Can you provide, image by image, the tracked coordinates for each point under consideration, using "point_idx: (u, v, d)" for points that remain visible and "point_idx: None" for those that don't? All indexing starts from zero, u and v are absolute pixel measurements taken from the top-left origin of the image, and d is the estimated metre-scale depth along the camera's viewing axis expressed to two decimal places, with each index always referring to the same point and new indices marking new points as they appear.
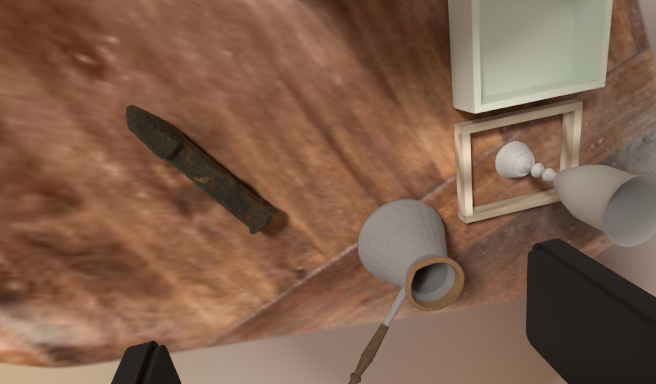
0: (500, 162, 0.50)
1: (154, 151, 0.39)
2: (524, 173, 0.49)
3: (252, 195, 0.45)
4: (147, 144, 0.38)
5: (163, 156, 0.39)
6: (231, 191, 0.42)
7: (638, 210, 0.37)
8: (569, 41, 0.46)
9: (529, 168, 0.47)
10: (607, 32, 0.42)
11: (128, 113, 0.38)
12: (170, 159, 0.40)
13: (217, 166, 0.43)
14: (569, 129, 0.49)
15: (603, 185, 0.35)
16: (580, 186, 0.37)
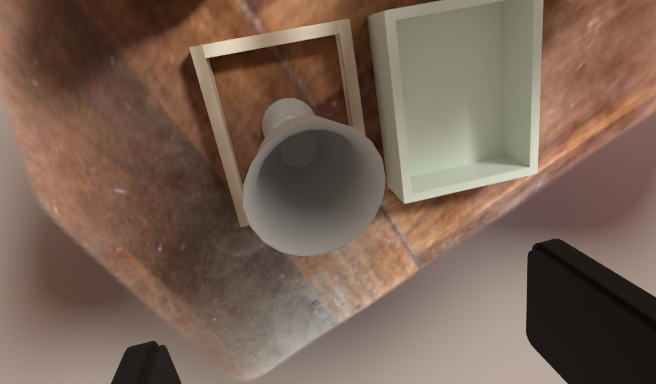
0: (288, 102, 0.34)
1: None
2: None
3: None
4: None
5: None
6: None
7: (293, 225, 0.22)
8: (438, 165, 0.38)
9: None
10: (465, 187, 0.35)
11: None
12: None
13: None
14: None
15: None
16: None
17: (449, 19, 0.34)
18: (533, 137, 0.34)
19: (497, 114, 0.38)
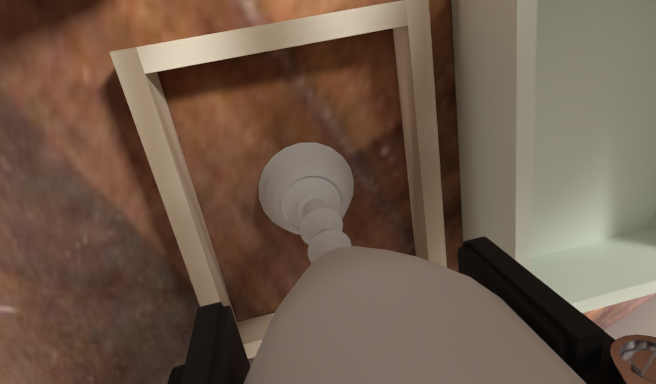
0: (306, 151, 0.19)
1: None
2: (288, 212, 0.18)
3: None
4: None
5: None
6: None
7: None
8: (551, 245, 0.23)
9: None
10: (619, 298, 0.20)
11: None
12: None
13: None
14: None
15: None
16: (486, 307, 0.06)
17: (597, 1, 0.19)
18: None
19: (653, 163, 0.23)
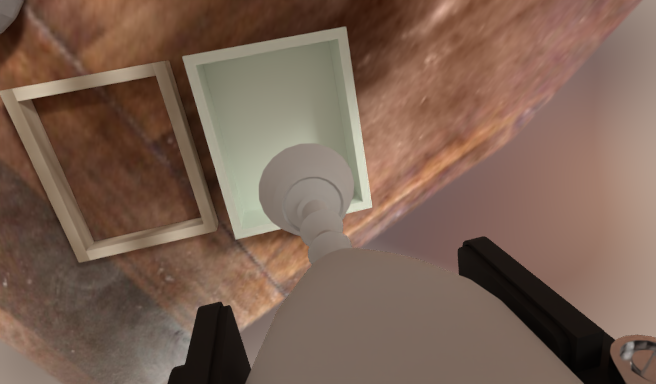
0: (306, 152, 0.19)
1: None
2: (288, 213, 0.18)
3: None
4: None
5: None
6: None
7: None
8: None
9: None
10: None
11: None
12: None
13: None
14: (178, 227, 0.38)
15: None
16: (487, 310, 0.06)
17: (275, 59, 0.35)
18: (361, 173, 0.35)
19: (340, 148, 0.38)
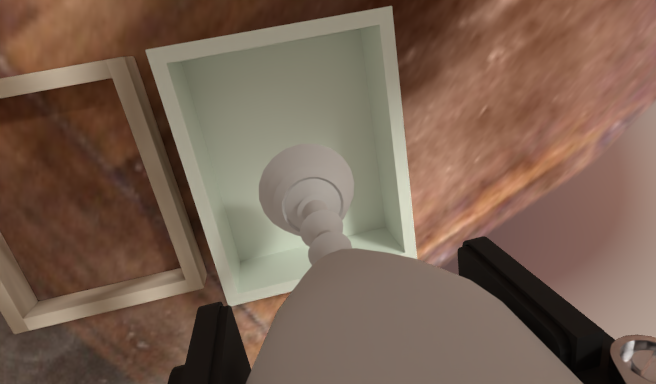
0: (306, 152, 0.19)
1: None
2: (288, 214, 0.18)
3: None
4: None
5: None
6: None
7: None
8: (296, 241, 0.29)
9: None
10: None
11: None
12: None
13: None
14: (151, 283, 0.28)
15: None
16: (487, 311, 0.06)
17: (284, 54, 0.24)
18: (404, 215, 0.25)
19: (371, 176, 0.28)
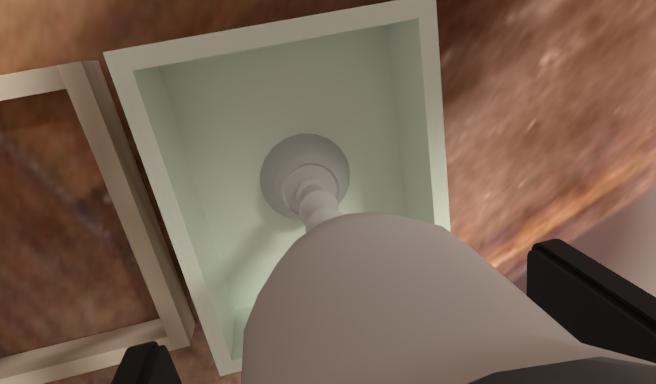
0: (305, 142, 0.20)
1: None
2: (287, 198, 0.19)
3: None
4: None
5: None
6: None
7: None
8: None
9: None
10: None
11: None
12: None
13: None
14: (126, 339, 0.22)
15: (554, 321, 0.06)
16: (452, 244, 0.08)
17: (291, 57, 0.19)
18: None
19: (396, 206, 0.23)
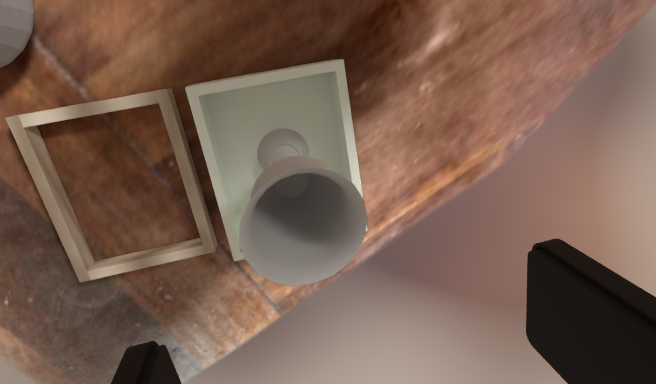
0: (282, 133, 0.37)
1: None
2: (272, 163, 0.36)
3: None
4: None
5: None
6: None
7: (284, 256, 0.24)
8: None
9: None
10: None
11: None
12: None
13: None
14: (178, 247, 0.38)
15: None
16: (317, 162, 0.24)
17: (274, 86, 0.36)
18: None
19: (336, 171, 0.39)
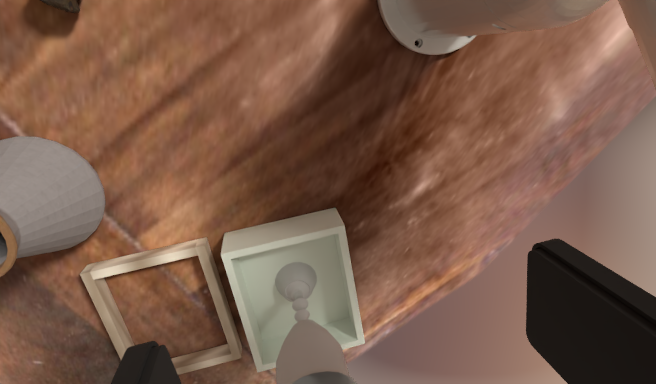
0: (295, 267, 0.45)
1: None
2: (287, 294, 0.44)
3: None
4: None
5: None
6: None
7: None
8: None
9: (299, 296, 0.43)
10: None
11: None
12: None
13: None
14: (211, 355, 0.47)
15: (338, 362, 0.31)
16: (325, 342, 0.32)
17: None
18: (356, 320, 0.45)
19: (339, 290, 0.48)
